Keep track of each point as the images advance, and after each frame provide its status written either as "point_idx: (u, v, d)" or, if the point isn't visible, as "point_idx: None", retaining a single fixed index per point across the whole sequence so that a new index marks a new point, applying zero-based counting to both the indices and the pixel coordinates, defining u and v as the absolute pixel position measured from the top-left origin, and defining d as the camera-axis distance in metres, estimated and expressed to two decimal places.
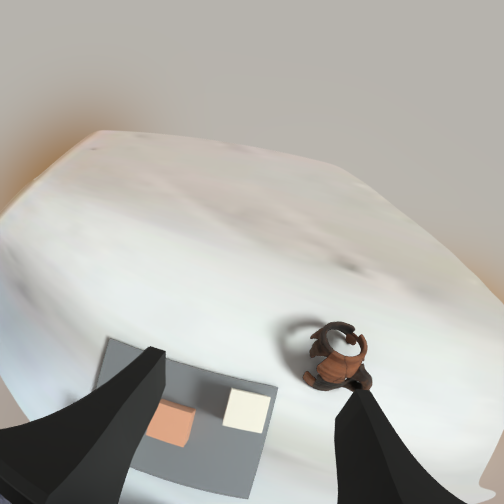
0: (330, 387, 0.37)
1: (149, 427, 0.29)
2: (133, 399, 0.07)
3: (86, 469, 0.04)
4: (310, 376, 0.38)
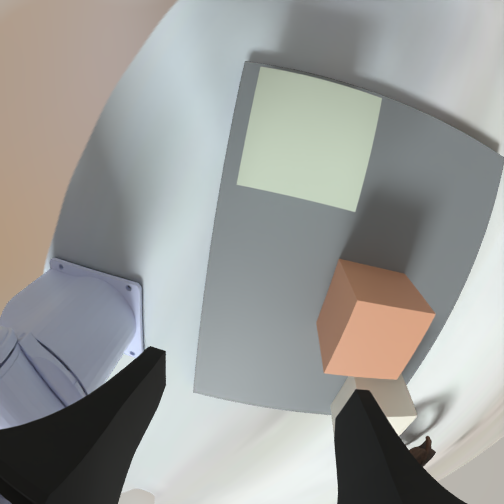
0: None
1: (377, 308, 0.13)
2: (133, 399, 0.07)
3: (86, 469, 0.04)
4: None
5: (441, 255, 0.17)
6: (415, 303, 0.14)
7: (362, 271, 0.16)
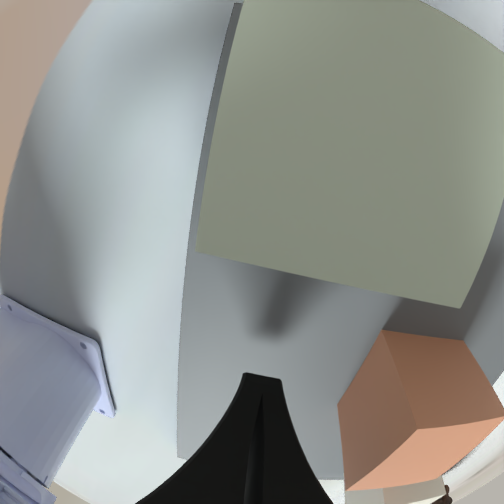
0: None
1: (441, 430, 0.06)
2: None
3: None
4: None
5: None
6: (485, 403, 0.07)
7: (415, 352, 0.09)
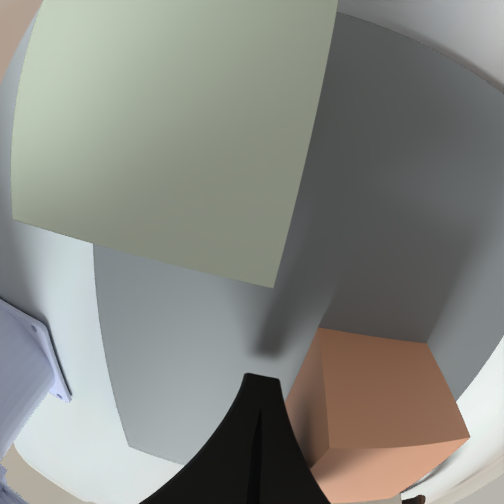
0: None
1: (369, 452, 0.05)
2: None
3: None
4: None
5: (472, 310, 0.09)
6: (440, 421, 0.06)
7: (356, 355, 0.09)
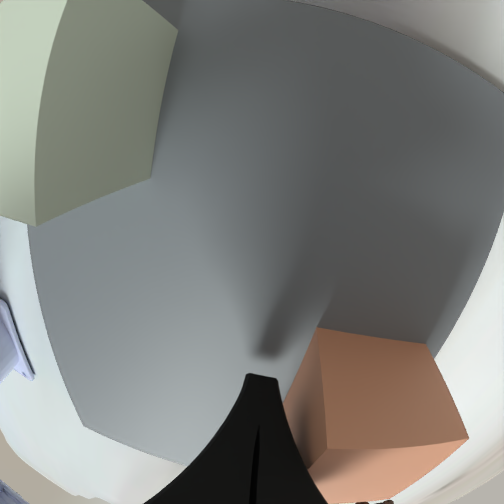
0: None
1: (367, 453, 0.05)
2: None
3: None
4: None
5: (397, 294, 0.09)
6: (439, 422, 0.06)
7: (354, 355, 0.09)
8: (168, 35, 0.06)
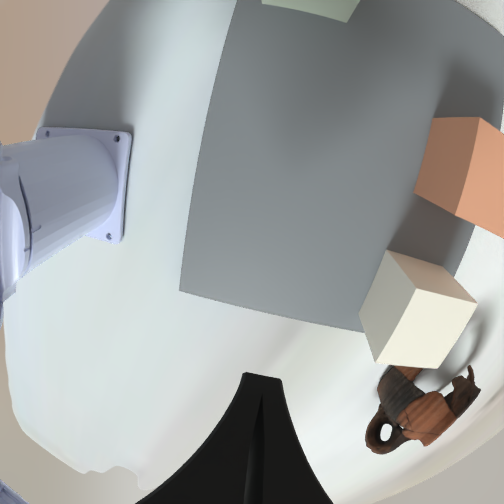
0: (389, 397, 0.20)
1: (495, 132, 0.09)
2: None
3: None
4: (418, 371, 0.19)
5: (466, 107, 0.12)
6: None
7: None
8: None
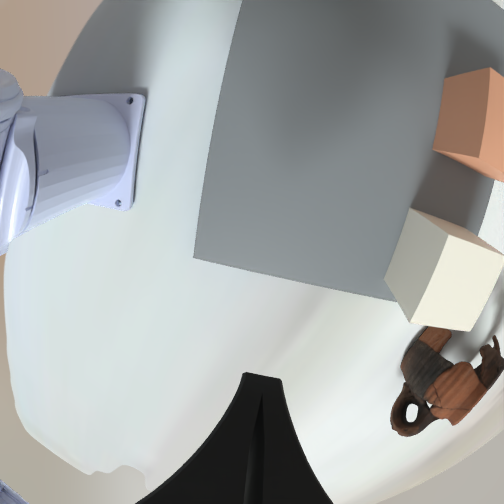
0: (415, 372, 0.19)
1: None
2: None
3: None
4: (444, 342, 0.18)
5: None
6: None
7: None
8: None
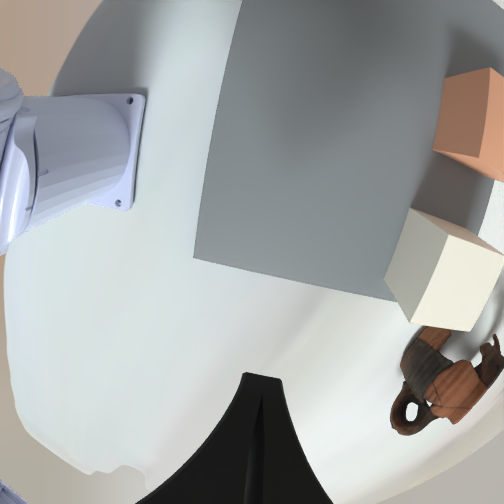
0: (414, 371, 0.19)
1: None
2: None
3: None
4: (443, 340, 0.18)
5: None
6: None
7: None
8: None
